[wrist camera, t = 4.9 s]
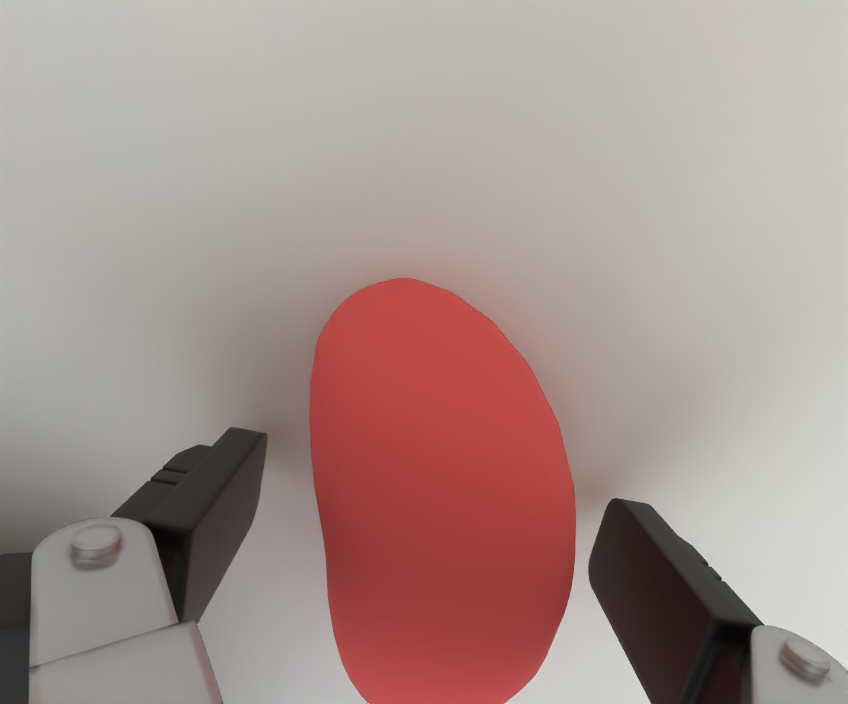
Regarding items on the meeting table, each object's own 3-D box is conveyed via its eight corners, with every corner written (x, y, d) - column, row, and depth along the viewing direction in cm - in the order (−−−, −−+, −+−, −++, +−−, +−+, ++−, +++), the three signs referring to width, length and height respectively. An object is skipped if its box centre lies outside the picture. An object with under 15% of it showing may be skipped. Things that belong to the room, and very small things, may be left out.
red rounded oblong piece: (586, 336, 13) (604, 244, 7) (559, 706, 11) (550, 995, 5) (402, 324, 14) (284, 242, 8) (359, 649, 13) (184, 827, 7)
